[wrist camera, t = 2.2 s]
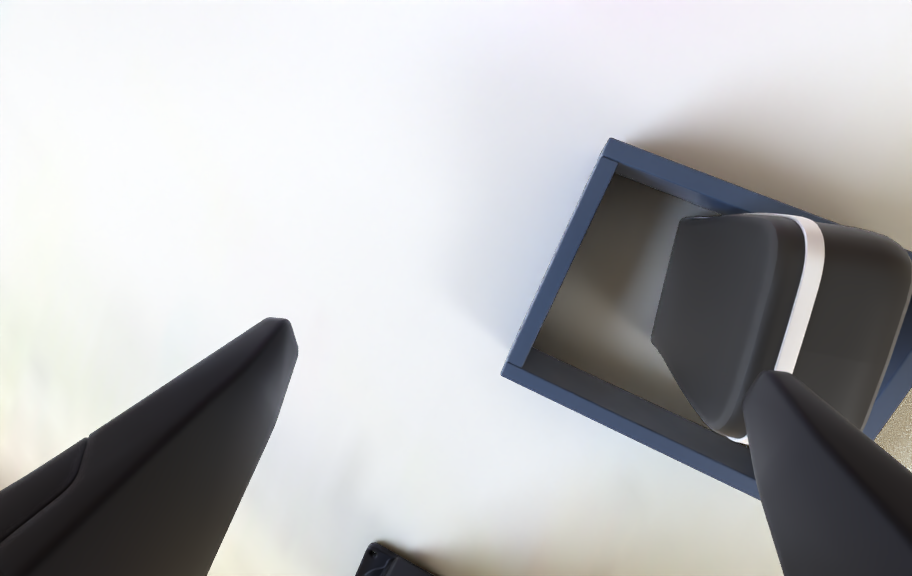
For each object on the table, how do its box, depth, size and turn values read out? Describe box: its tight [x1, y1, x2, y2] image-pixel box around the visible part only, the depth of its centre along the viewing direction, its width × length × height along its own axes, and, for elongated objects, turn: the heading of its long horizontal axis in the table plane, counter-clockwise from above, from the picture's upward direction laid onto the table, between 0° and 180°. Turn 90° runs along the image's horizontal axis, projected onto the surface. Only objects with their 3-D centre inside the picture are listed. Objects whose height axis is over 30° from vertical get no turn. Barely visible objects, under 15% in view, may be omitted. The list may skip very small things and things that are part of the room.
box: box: [501, 138, 912, 500], centre depth 21 cm, size 12×15×4 cm
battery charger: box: [651, 213, 912, 445], centre depth 17 cm, size 7×4×11 cm, turn 171°
